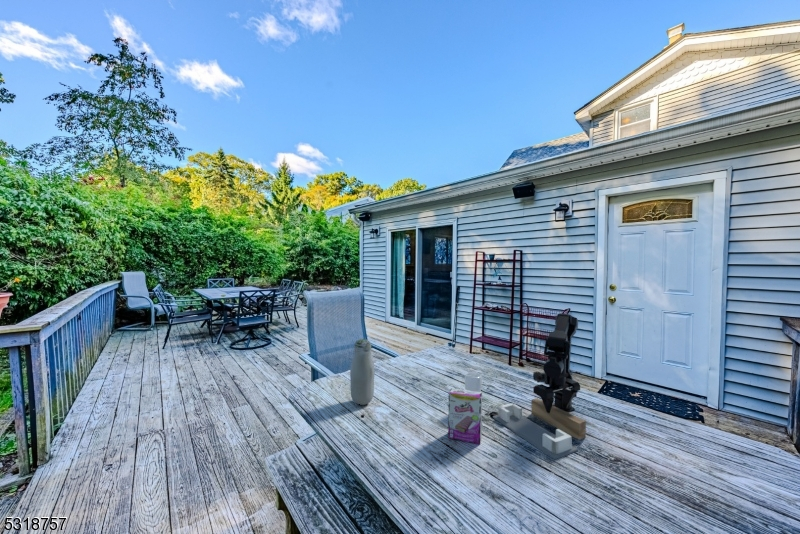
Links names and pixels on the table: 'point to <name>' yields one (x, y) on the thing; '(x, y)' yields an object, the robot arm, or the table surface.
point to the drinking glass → (473, 381)
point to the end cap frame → (535, 432)
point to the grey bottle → (362, 373)
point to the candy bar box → (465, 415)
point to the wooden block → (559, 419)
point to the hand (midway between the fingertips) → (556, 410)
